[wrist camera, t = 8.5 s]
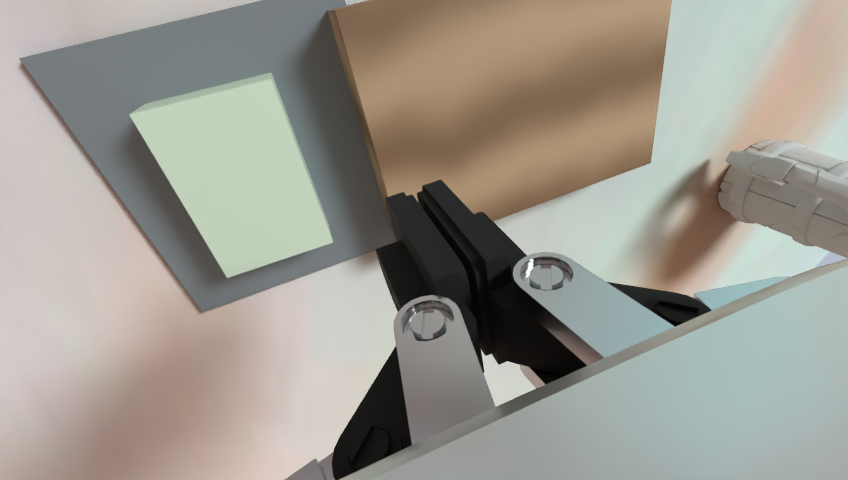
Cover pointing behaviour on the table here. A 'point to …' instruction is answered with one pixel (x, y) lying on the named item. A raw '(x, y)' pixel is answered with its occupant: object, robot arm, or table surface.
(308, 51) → the mat
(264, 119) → the tile
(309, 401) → the table surface
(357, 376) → the table surface
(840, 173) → the mug
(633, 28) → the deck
